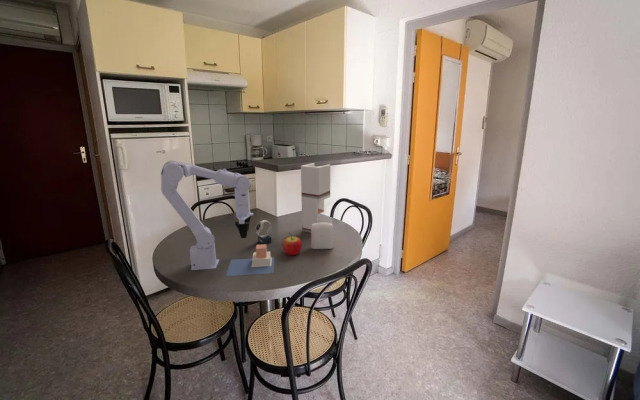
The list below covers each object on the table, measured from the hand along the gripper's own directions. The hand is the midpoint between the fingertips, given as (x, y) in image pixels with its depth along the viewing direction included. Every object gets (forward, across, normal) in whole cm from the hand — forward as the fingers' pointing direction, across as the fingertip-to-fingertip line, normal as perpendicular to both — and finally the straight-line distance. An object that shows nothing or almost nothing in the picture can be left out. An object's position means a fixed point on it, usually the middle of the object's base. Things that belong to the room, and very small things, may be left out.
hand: (244, 234), depth 128 cm
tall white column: (+11, +29, -34) cm, 46 cm away
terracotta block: (+7, -7, -7) cm, 12 cm away
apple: (+11, 0, -20) cm, 23 cm away
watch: (+11, +15, -7) cm, 20 cm away
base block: (+10, -7, -7) cm, 14 cm away
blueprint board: (+10, -10, -3) cm, 15 cm away
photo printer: (+11, +5, -34) cm, 36 cm away
